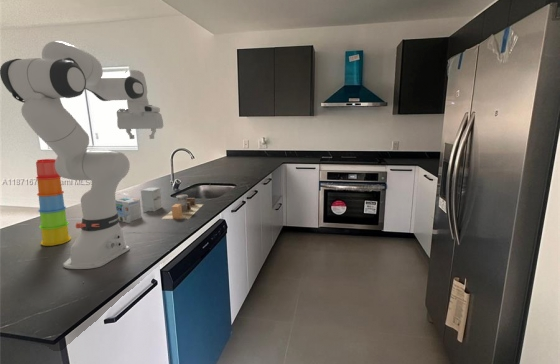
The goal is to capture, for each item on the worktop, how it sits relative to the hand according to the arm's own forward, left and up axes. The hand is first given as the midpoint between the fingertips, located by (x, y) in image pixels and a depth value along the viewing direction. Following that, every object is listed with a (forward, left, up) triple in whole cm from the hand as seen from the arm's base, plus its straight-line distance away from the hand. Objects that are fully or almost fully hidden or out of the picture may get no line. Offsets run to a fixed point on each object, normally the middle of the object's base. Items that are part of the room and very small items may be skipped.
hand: (142, 138), depth 140 cm
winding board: (+14, -12, -41) cm, 45 cm away
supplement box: (+18, +7, -41) cm, 46 cm away
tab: (+4, -12, -40) cm, 42 cm away
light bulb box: (+3, +12, -41) cm, 43 cm away
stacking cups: (-24, +29, -41) cm, 56 cm away
